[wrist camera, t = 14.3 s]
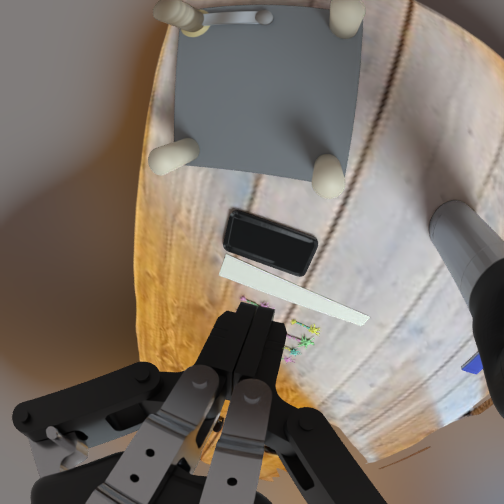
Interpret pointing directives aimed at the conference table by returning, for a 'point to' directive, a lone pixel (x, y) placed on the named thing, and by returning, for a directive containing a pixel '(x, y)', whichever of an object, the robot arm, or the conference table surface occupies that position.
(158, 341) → the conference table surface
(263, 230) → the phone
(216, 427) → the sunglasses
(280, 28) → the grey square base plate
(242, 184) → the conference table surface
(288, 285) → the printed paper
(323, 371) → the conference table surface
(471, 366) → the hard drive
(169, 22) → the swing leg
